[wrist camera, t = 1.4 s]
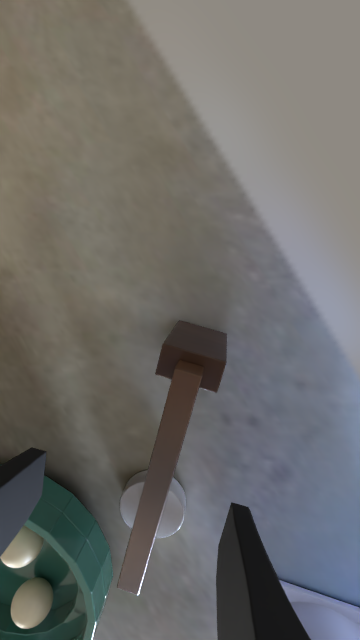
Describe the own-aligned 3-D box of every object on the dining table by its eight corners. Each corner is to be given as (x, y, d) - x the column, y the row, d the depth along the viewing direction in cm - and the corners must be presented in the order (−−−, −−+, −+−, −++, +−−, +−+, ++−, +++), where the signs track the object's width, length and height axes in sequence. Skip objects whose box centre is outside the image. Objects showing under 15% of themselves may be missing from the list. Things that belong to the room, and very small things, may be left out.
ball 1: (54, 516, 23) (31, 552, 20) (48, 546, 24) (25, 584, 21) (18, 504, 23) (-9, 537, 21) (14, 534, 24) (-13, 570, 21)
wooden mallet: (177, 532, 23) (159, 633, 17) (119, 512, 23) (81, 603, 17) (238, 336, 19) (243, 376, 13) (167, 316, 19) (141, 346, 13)
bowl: (135, 495, 23) (115, 546, 19) (96, 644, 26) (73, 712, 22) (-58, 431, 24) (-113, 466, 20) (-69, 581, 28) (-118, 635, 24)
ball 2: (62, 575, 24) (42, 616, 21) (57, 602, 25) (36, 645, 22) (28, 562, 24) (4, 602, 22) (24, 589, 25) (-1, 630, 22)
